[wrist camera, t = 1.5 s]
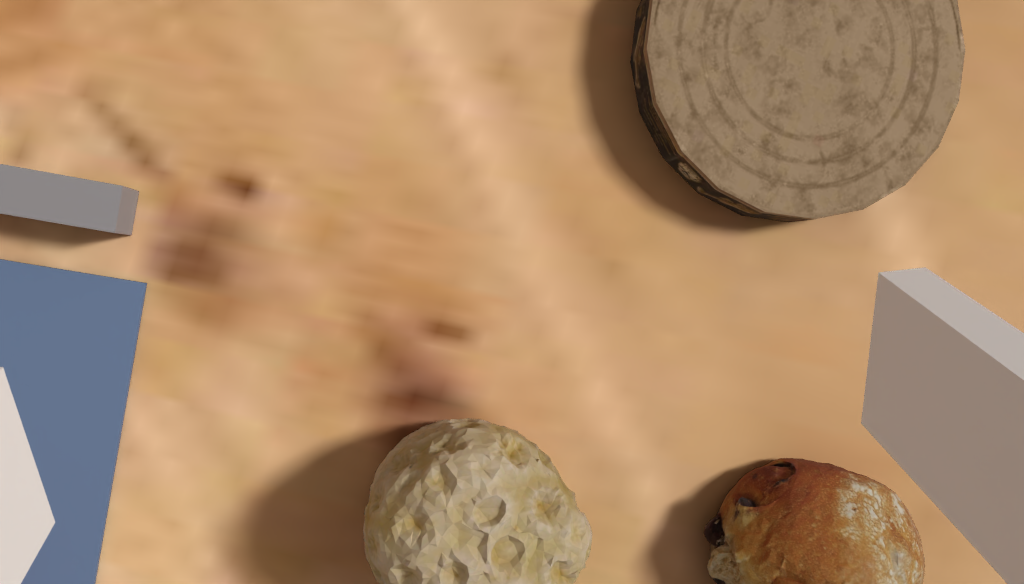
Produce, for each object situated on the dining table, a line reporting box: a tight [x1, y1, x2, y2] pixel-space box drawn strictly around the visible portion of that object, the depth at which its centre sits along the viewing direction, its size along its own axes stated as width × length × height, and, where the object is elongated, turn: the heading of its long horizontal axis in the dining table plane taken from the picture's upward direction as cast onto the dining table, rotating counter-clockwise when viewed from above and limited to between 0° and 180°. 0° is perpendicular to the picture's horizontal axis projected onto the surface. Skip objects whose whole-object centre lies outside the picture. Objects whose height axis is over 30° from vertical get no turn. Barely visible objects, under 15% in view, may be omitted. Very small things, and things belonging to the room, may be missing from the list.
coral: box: [363, 419, 592, 584], centre depth 38 cm, size 9×9×8 cm
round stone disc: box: [630, 0, 965, 222], centre depth 42 cm, size 16×16×3 cm
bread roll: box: [704, 458, 925, 584], centre depth 42 cm, size 10×10×8 cm
